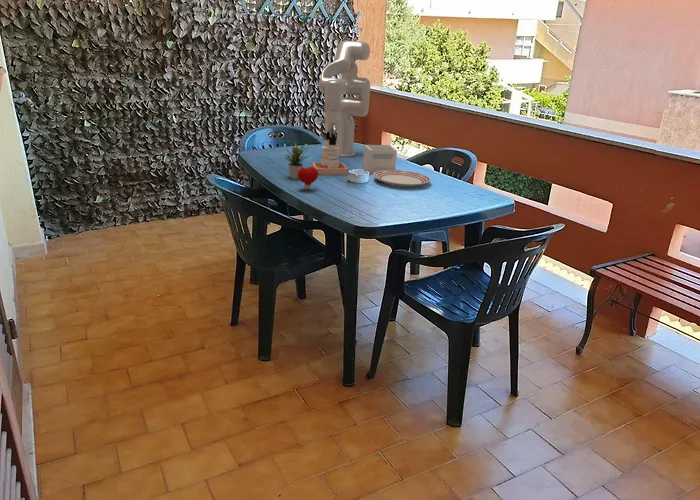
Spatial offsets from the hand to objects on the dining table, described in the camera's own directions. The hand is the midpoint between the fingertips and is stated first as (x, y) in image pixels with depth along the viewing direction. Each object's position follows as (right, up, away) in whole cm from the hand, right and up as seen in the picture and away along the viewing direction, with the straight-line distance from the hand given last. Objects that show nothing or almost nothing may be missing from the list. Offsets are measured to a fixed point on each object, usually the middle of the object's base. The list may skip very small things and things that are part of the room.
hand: (330, 142), depth 263 cm
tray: (-1, -13, +5) cm, 14 cm away
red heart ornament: (-9, -26, -27) cm, 39 cm away
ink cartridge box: (-1, -13, +5) cm, 14 cm away
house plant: (-15, -19, -9) cm, 26 cm away
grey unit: (+24, -12, +12) cm, 30 cm away
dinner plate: (+34, -21, -5) cm, 40 cm away
